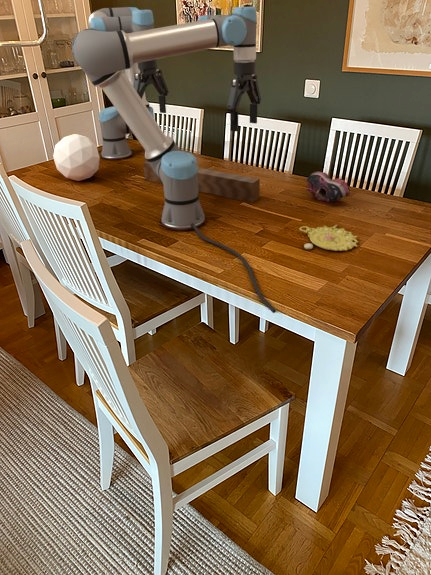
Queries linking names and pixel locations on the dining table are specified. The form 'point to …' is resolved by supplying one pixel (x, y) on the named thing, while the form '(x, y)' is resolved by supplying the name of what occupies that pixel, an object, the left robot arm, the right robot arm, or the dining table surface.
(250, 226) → the dining table surface
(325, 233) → the decorative object
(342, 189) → the athletic shoe
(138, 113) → the right robot arm
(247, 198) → the beam
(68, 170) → the sphere
